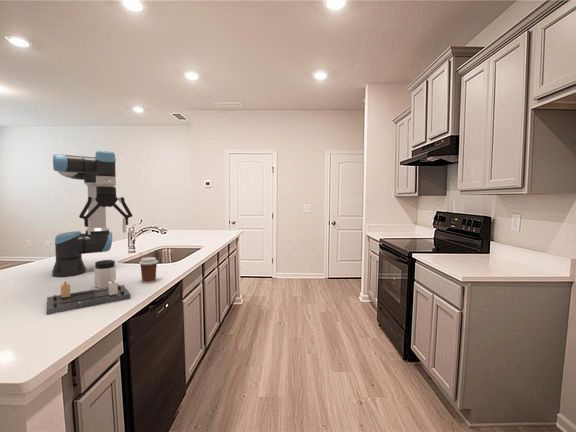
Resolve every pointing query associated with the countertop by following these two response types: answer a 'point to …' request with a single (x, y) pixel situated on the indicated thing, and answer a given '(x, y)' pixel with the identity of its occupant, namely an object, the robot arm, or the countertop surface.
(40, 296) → the countertop surface
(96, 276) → the jar
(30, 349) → the countertop surface
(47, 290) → the countertop surface
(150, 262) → the coffee cup
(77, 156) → the robot arm
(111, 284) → the fader
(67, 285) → the block
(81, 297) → the console
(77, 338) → the countertop surface
